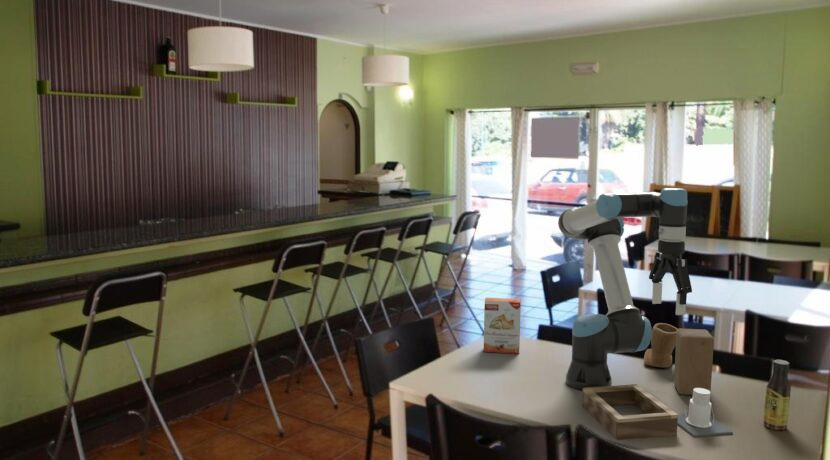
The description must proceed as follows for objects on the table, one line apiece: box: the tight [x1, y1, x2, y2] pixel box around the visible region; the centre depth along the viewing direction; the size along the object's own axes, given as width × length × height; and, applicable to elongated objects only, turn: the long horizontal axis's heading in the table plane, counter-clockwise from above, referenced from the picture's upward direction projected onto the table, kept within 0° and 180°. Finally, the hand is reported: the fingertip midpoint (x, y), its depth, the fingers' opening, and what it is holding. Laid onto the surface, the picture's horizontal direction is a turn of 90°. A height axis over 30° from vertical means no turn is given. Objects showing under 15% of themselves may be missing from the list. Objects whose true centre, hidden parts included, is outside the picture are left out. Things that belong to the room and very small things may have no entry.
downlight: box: [684, 388, 715, 428], centre depth 197 cm, size 8×7×10 cm
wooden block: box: [673, 327, 715, 396], centre depth 223 cm, size 10×10×20 cm
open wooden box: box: [581, 383, 679, 441], centre depth 202 cm, size 24×18×6 cm
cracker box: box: [483, 297, 522, 355], centre depth 265 cm, size 14×6×21 cm, turn 80°
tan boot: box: [643, 322, 678, 368], centre depth 251 cm, size 15×12×15 cm
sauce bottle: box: [762, 359, 792, 431], centre depth 195 cm, size 6×6×20 cm
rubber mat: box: [677, 412, 734, 438], centre depth 198 cm, size 14×12×1 cm
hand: (668, 309), depth 206 cm, fingers open, 13 cm apart
